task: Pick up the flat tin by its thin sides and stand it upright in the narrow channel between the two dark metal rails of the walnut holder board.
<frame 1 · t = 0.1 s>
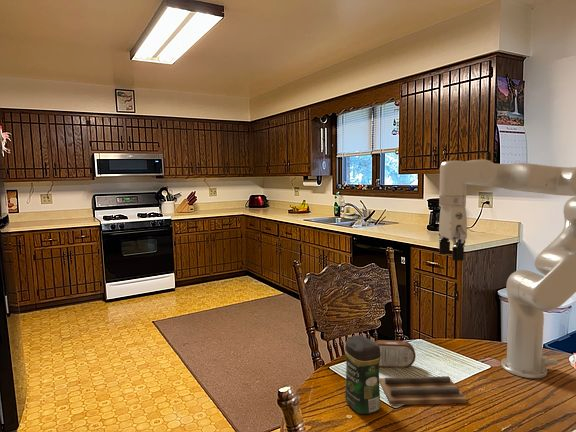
hand: (450, 257, 123), 37 cm above the table, tool pointing down, fingers open, 9 cm apart
tin: (391, 367, 130), on the table
coffee jar: (362, 406, 108), on the table
holder: (420, 392, 114), on the table
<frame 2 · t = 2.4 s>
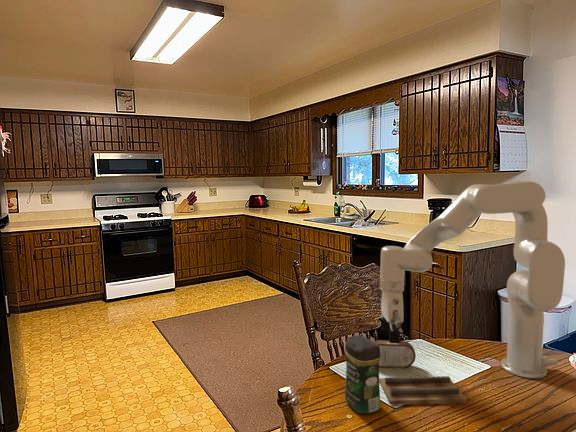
hand: (390, 336, 129), 10 cm above the table, tool pointing down, fingers open, 9 cm apart
nothing on the table moved.
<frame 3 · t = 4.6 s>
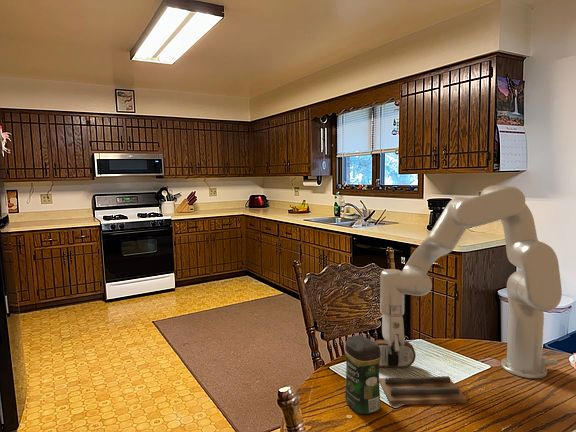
hand: (391, 362, 130), 1 cm above the table, tool pointing down, fingers closed on tin, 2 cm apart
tin: (391, 366, 130), on the table, touching gripper
everything else where it was.
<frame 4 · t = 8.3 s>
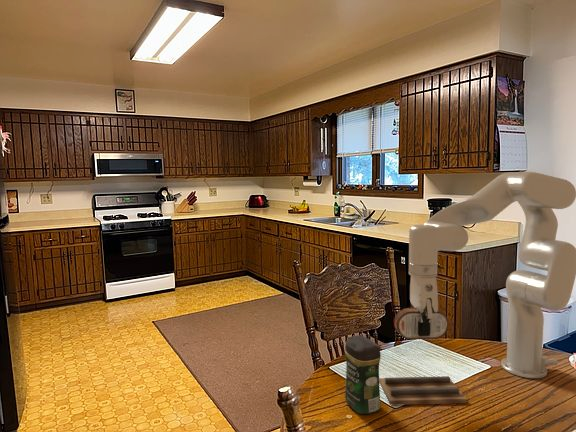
hand: (421, 332, 113), 18 cm above the table, tool pointing down, fingers closed on tin, 2 cm apart
tin: (421, 339, 112), point 16 cm above the table, touching gripper
everything else where it was.
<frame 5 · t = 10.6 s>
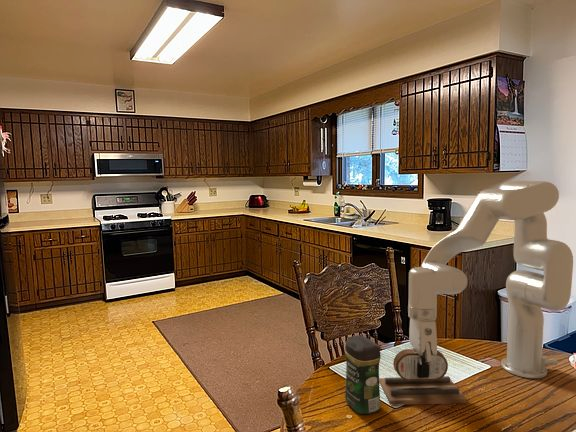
hand: (420, 373, 114), 6 cm above the table, tool pointing down, fingers closed on tin, 2 cm apart
tin: (420, 380, 114), point 4 cm above the table, touching gripper
everything else where it was.
when the fingers open (3 cm above the table, at t = 12.1 s): tin stays where it is, resting on holder.
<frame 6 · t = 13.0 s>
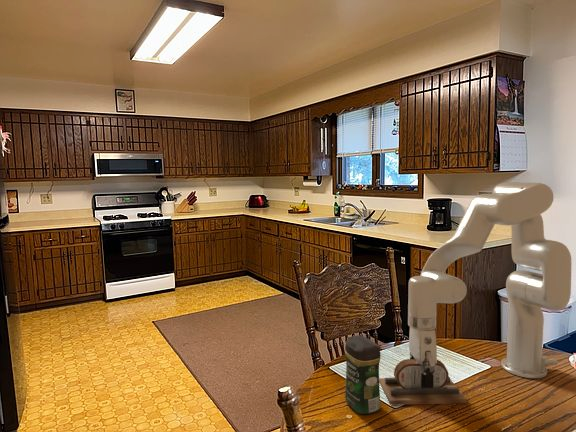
hand: (420, 378, 114), 4 cm above the table, tool pointing down, fingers open, 9 cm apart
tin: (421, 389, 114), point 1 cm above the table, touching holder
everything else where it was.
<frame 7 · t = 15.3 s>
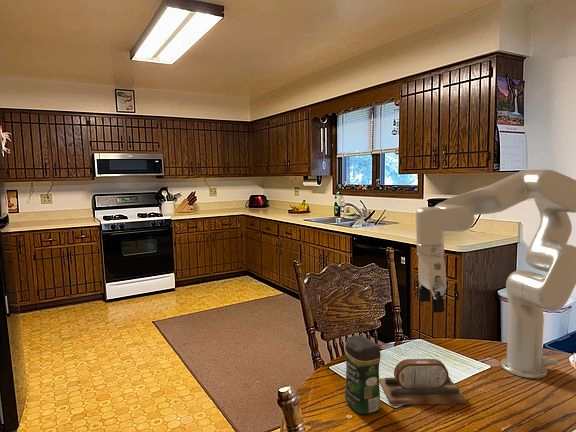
hand: (431, 306, 118), 23 cm above the table, tool pointing down, fingers open, 9 cm apart
nothing on the table moved.
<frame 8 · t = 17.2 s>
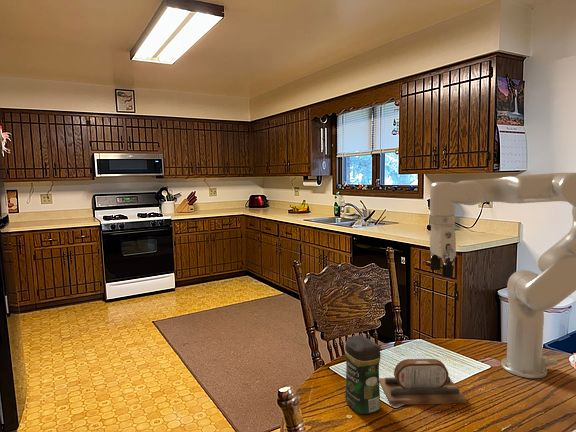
hand: (441, 273, 128), 30 cm above the table, tool pointing down, fingers open, 9 cm apart
nothing on the table moved.
at the end: tin 0.2 cm off-centre on the holder, point 1.0 cm above the holder's base; tin tilted 0°; the gripper is holding nothing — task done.
